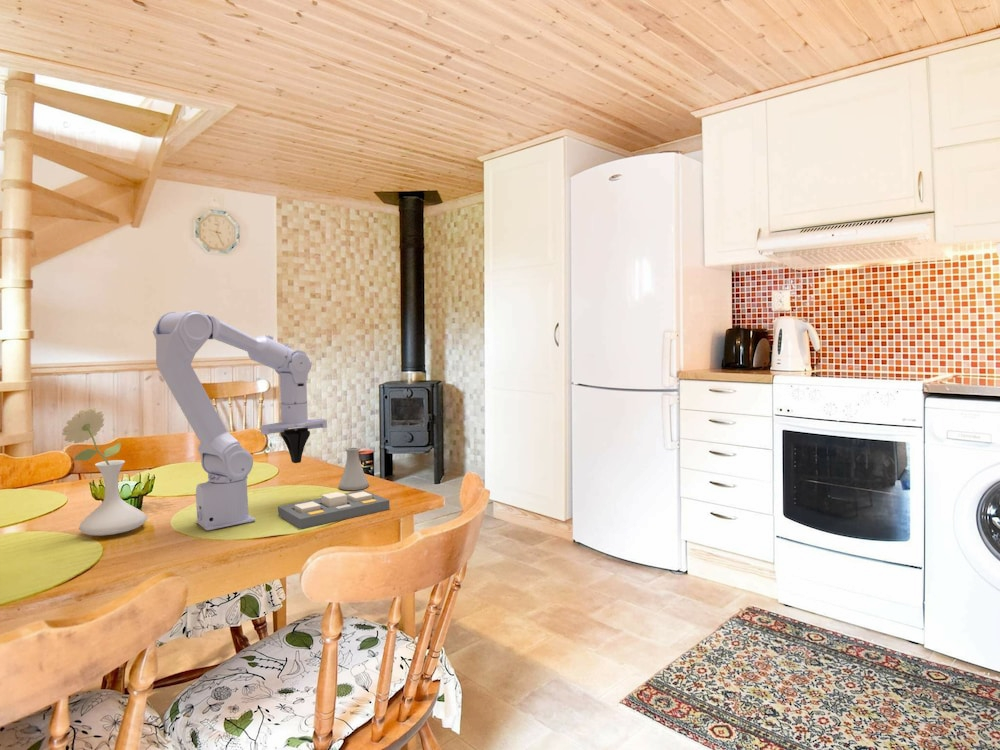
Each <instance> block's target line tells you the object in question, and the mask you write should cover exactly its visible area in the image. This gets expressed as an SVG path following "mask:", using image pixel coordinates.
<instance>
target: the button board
mask: <svg viewBox="0 0 1000 750" xmlns="http://www.w3.org/2000/svg"><path fill="white" fill-rule="evenodd" d="M363 491H364V492H367V493H369V494H372V499H369V500H365V501H360V502H352V501H350V500H348V499H347V504H345V505H340V506H336V507H331V508H329V507H327V506H325V505H323V504H322V497H320V498H315V499H310V500H305V501H299V502H294V503H289V504H284V505H279V506H277V513H278V516H279V517H280V518H282V519H283V520H285V521H286V522H289V524H292V526H293V525H294V526H295V527H297V529H300V530H303V529H308V528H311V527H316V526H319V525H320V526H321V525H324V524H329V523H330V524H331V523H333V522H339V521H342V520H347V519H350V518H351V519H352V518H356V517H361V516H364V515H370V514H374V513H377V512H383V511H387V510H390V506H391V505H390V499H388V498H385V497H383V496H380V495H377V494H375V493H372V492H370V491H368V490H364V489H359V490H354V491H352V492H346V493H344V494H345V495H348V494H353V493H358V492H363ZM312 501H313V502H315V503H317V504H319V505H321V510H316V511H311V512H307V513H302V514H300V513H298V512H297V511H295V508H294V505H297V504H302V503H307V502H312Z"/></svg>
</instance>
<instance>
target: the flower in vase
mask: <svg viewBox="0 0 1000 750" xmlns="http://www.w3.org/2000/svg"><path fill="white" fill-rule="evenodd" d="M104 420H105V418H104V413H103V410H98V411H97V408H92V407H89V408H87V409H86V410H85V409H80V410H79V411H78V412H76V413H75V414H73V416H72V417H71V419H69V420H67V421H66V424H67V425H65V426H64V427H63V429H62V436H65V437H64V439H63V440H64V441H66V442H68V443H72V442H73V443H74V444H79V443H81V444H82V443H84V442H85V441H88V440H90V439H92V442H93V445H94V447H95V448H94V449H93V448H86V449H83V450H82V451H80V452H79V453H77V455H76V456H74V458H73V461H89V460H91V459H92V458H93V457H94V456H95V455H96V454H97V453H98V454H99V455H100V456H101V458H102V459H103V460H104V461H100V462H96V463H95V464H94V465H95V467H96V468H97V469H98V471H100V473H101V475H102V476H101V477H102V479H103V483H104V497H103V498H104V499H103V501H102V502H101V504H99V505H98V507H96V508H95V509H94V510H93V511H92V512H90V514H88V515H87V516H86V517H85V518H84V519H82V521H81V522H80V523H79V526H78V530H79V531H80V533H82V534H83V535H89V536H94V537H95V536H97V537H98V536H110V535H117V534H123V533H127V532H130V531H133V530H135V529H137V528H139V527H141V526H142V525H144V524H145V522H146V521H147V519H148V517H147V515H146V513H145V512H143V511H142V510H140V509H138V508H137V507H135V506H134V505H131V504H130V503H127V502H126V501H124V500H123V498H122V497H121V496H120V492H119V476H120V472H121V469H122V467H123V466H124V464H125V463H126V460H123V459H115V460H114V459H113V460H108V459H106V458H108V457H111V456H114V455H116V454H118V453H119V452H120V450H121V441H119V442H117V443H116V444H114V445H112V446H110V447H108V448H106V449H105V450H104V451H103V453H102V452H101V451H100V449H99V448H98V445H97V443H96V441H95V438H94V437H96V435H98V432H100V431H101V428H102V427H104V424H105V423H104Z"/></svg>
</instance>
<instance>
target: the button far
mask: <svg viewBox="0 0 1000 750" xmlns="http://www.w3.org/2000/svg"><path fill="white" fill-rule="evenodd" d="M347 499H348V500H350V501H352V502H360V501H365V500H369V499H372V494H369V493H367V492H364V491H363V492H358V493H353V494H348V495H347Z"/></svg>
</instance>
